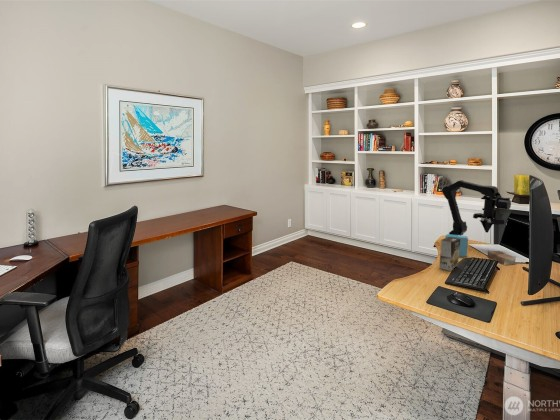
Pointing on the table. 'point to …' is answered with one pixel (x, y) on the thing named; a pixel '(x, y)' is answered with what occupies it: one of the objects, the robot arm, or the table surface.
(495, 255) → the walnut block
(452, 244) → the coffee box
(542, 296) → the table surface
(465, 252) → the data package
